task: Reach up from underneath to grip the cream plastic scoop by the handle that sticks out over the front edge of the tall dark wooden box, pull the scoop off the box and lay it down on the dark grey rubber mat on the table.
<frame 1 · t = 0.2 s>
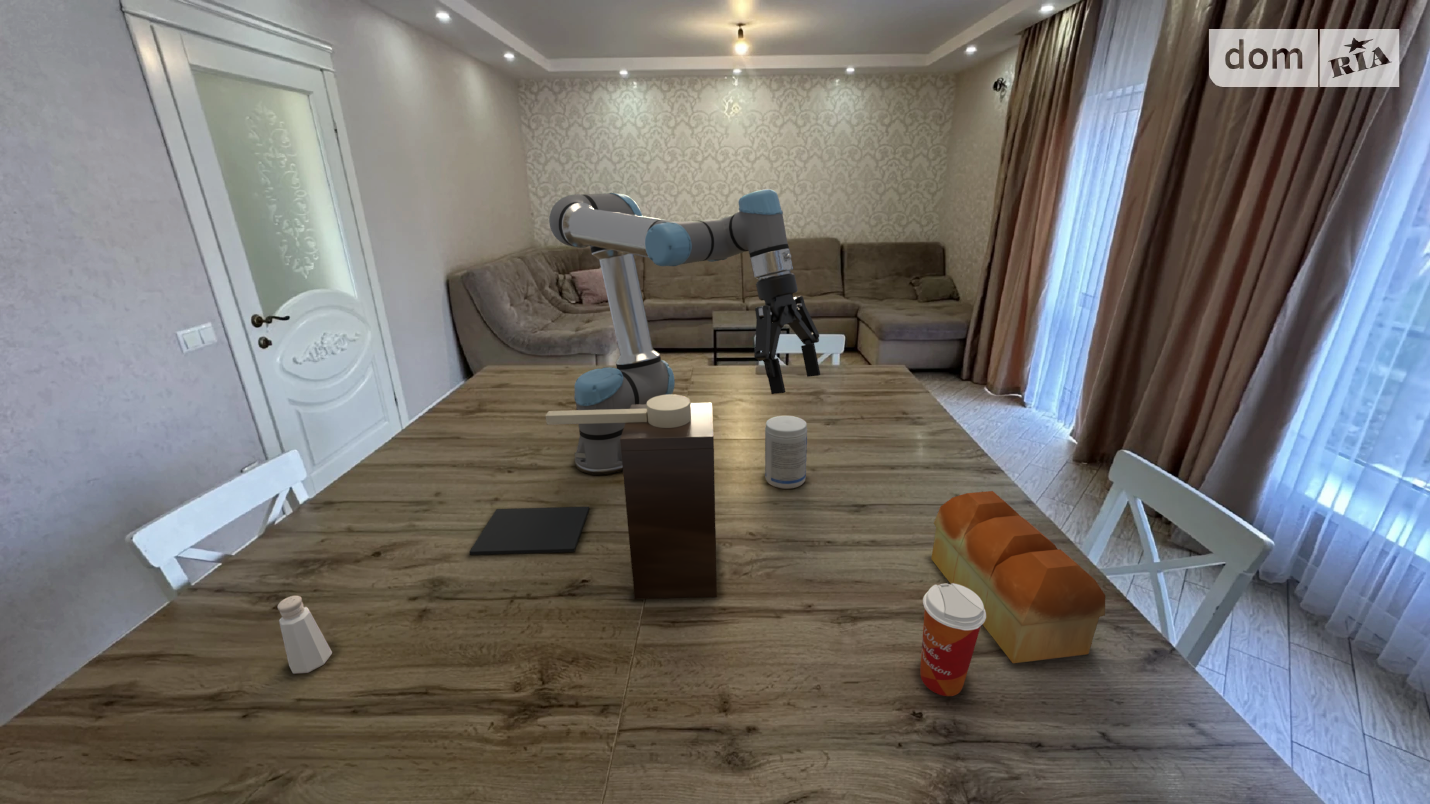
hand: (797, 384, 108), 28 cm above the table, tool tilted 15°, fingers open, 13 cm apart
scoop: (669, 419, 89), point 30 cm above the table, touching tall dark wooden box
paper cup: (941, 680, 77), on the table
pepper shaker: (311, 661, 82), on the table
milk frother: (635, 415, 168), on the table
bread: (1000, 602, 91), on the table
supplement tub: (784, 480, 130), on the table
tall dark wooden box: (677, 571, 100), on the table
mat: (533, 530, 112), on the table
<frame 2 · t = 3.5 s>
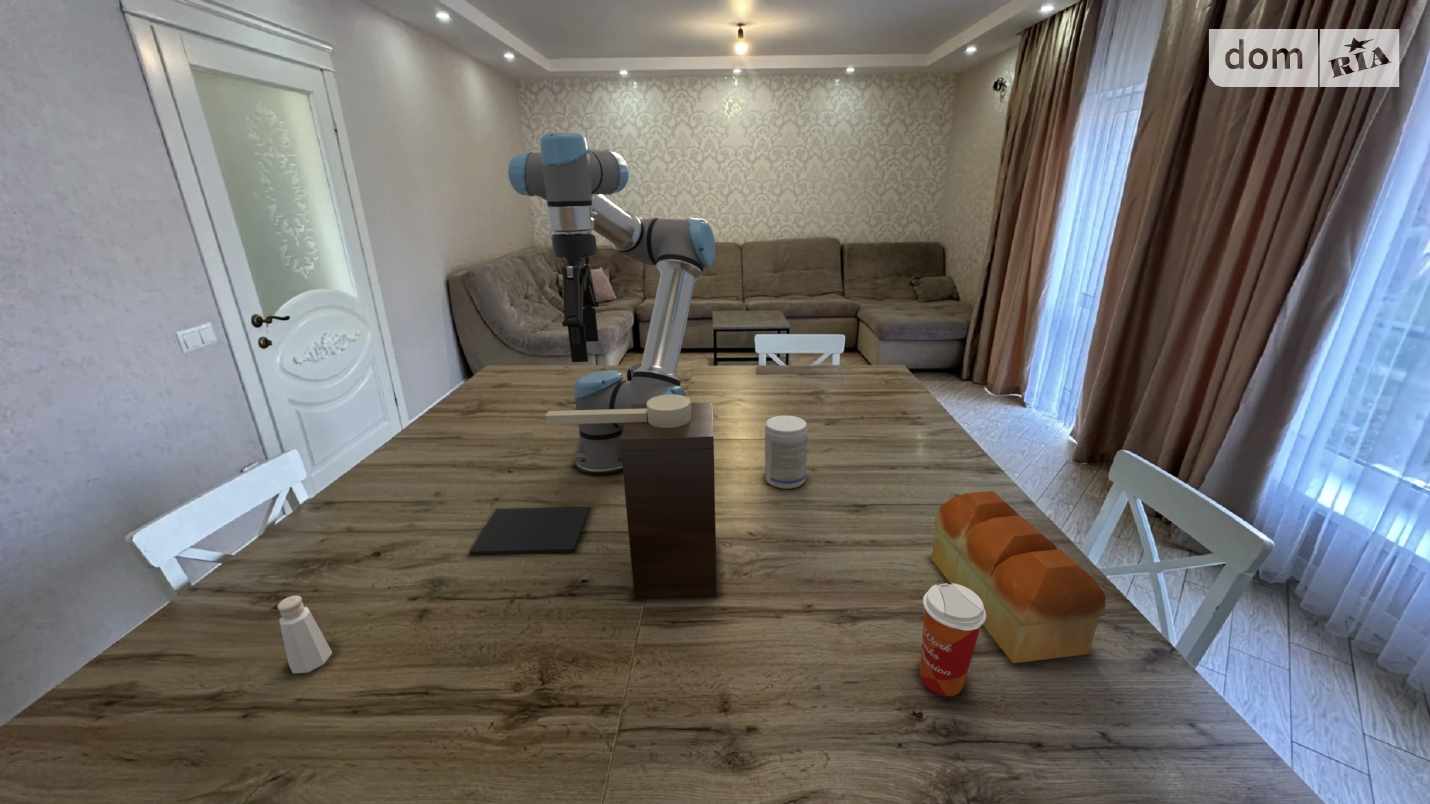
hand: (586, 350, 103), 37 cm above the table, tool pointing down, fingers open, 13 cm apart
nothing on the table moved.
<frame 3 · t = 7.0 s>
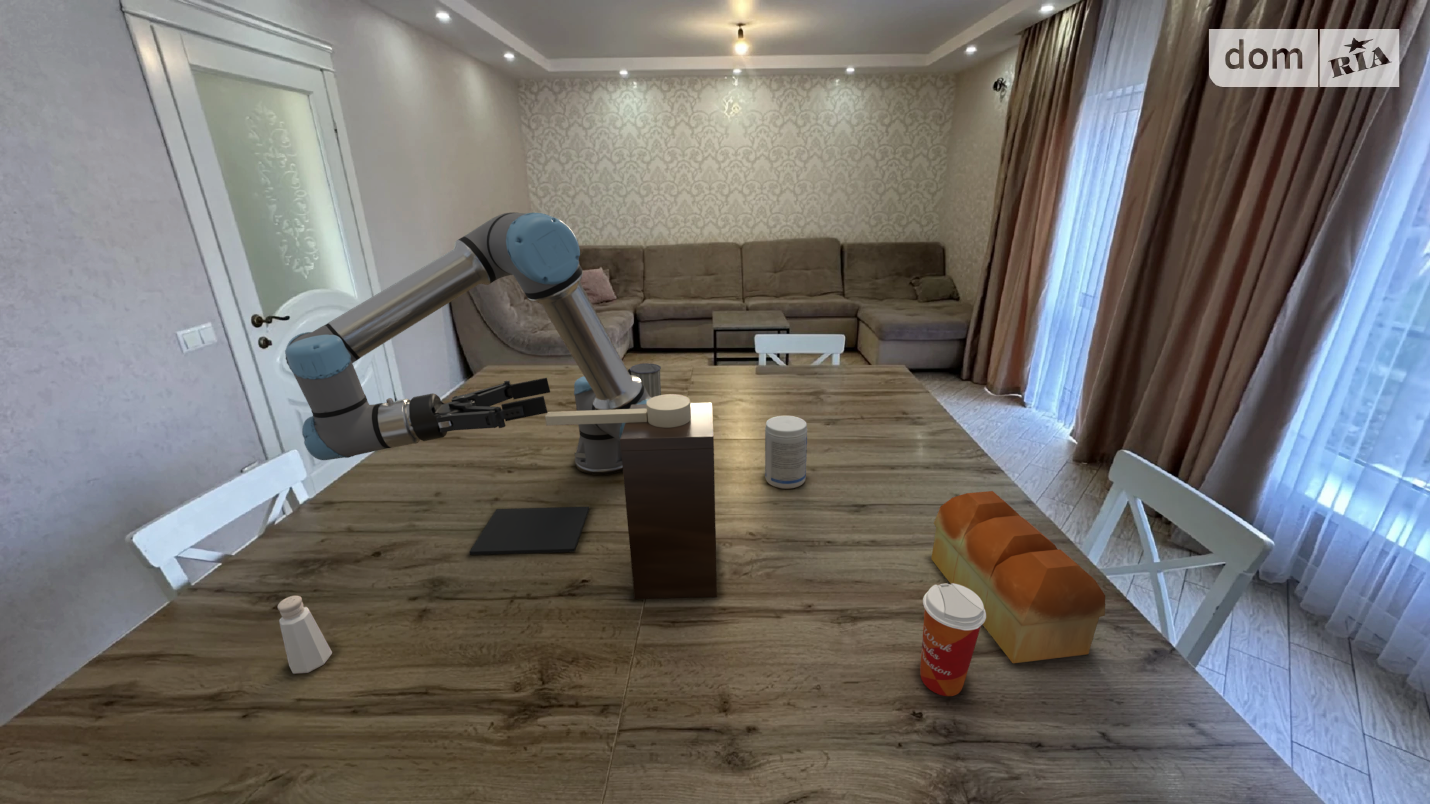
hand: (547, 394, 95), 32 cm above the table, tool horizontal, fingers open, 13 cm apart
scoop: (669, 419, 89), point 30 cm above the table, touching gripper
everything else where it was.
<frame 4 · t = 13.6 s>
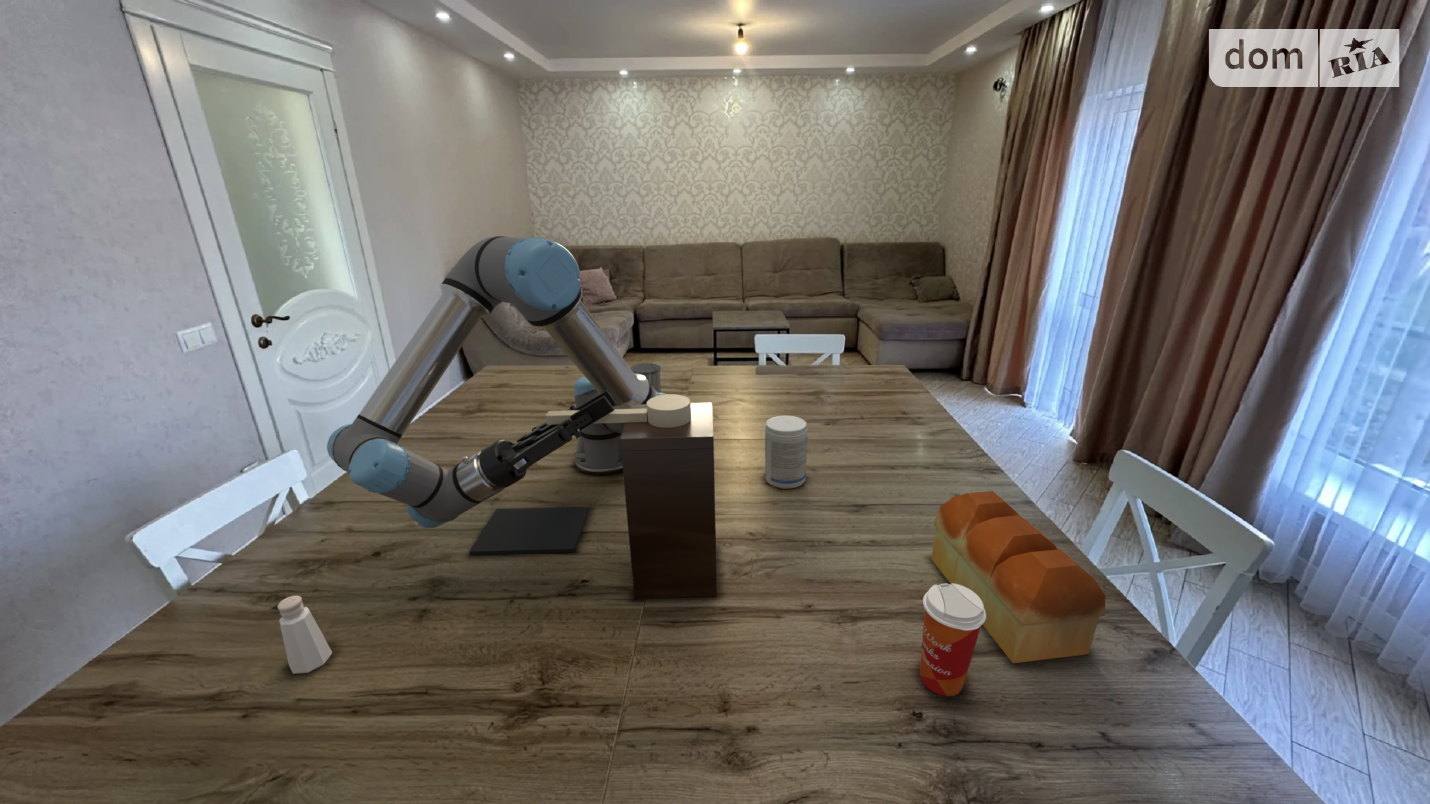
hand: (610, 400, 87), 34 cm above the table, tool pointing upward, fingers closed on scoop, 2 cm apart
scoop: (669, 419, 89), point 30 cm above the table, touching gripper, tall dark wooden box
everything else where it was.
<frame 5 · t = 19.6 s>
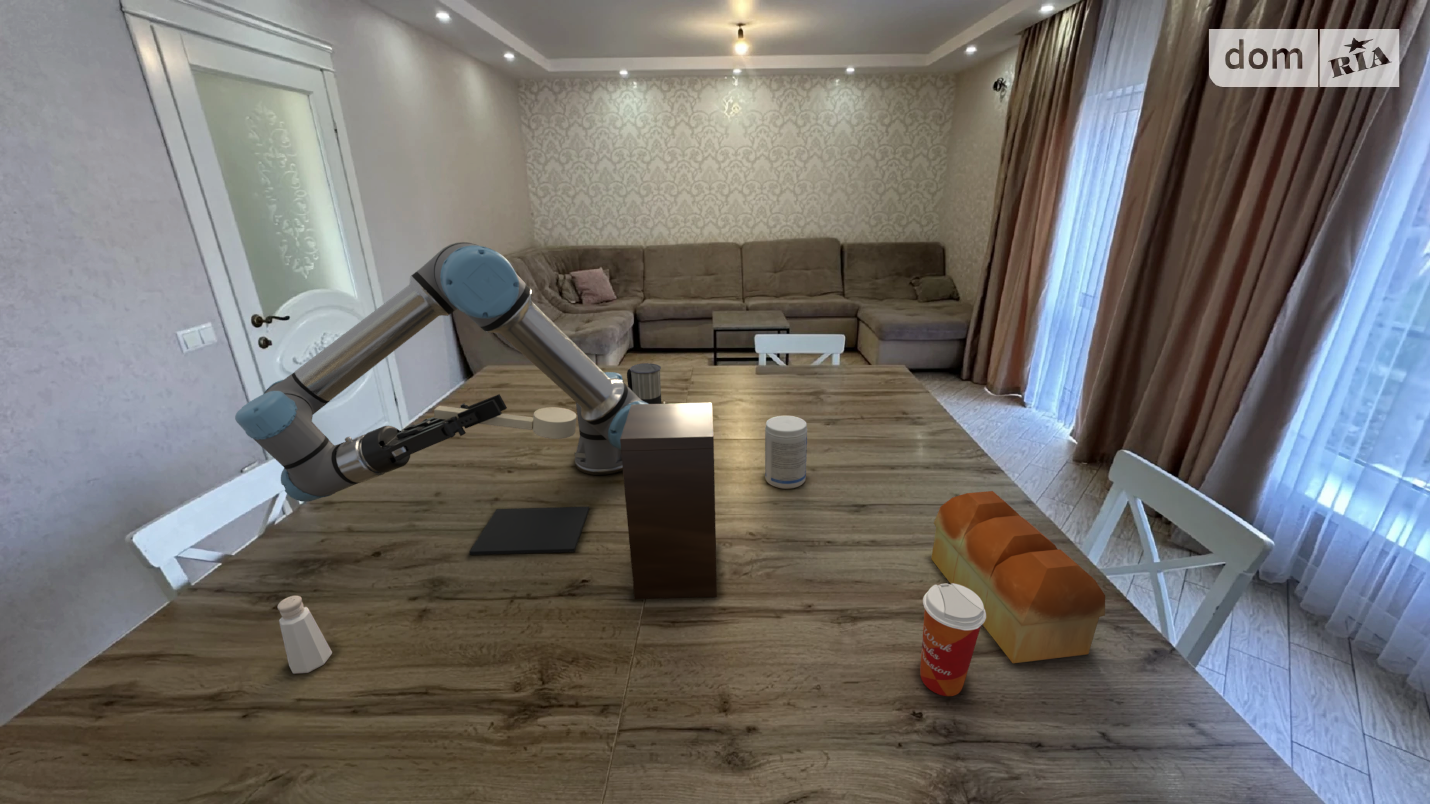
hand: (499, 404, 92), 31 cm above the table, tool pointing upward, fingers closed on scoop, 2 cm apart
scoop: (554, 430, 94), point 26 cm above the table, tilted 10°, touching gripper
everything else where it was.
when the fingers open (7 cm above the table, at t = 25.5 s): scoop drops 1 cm, resting on mat.
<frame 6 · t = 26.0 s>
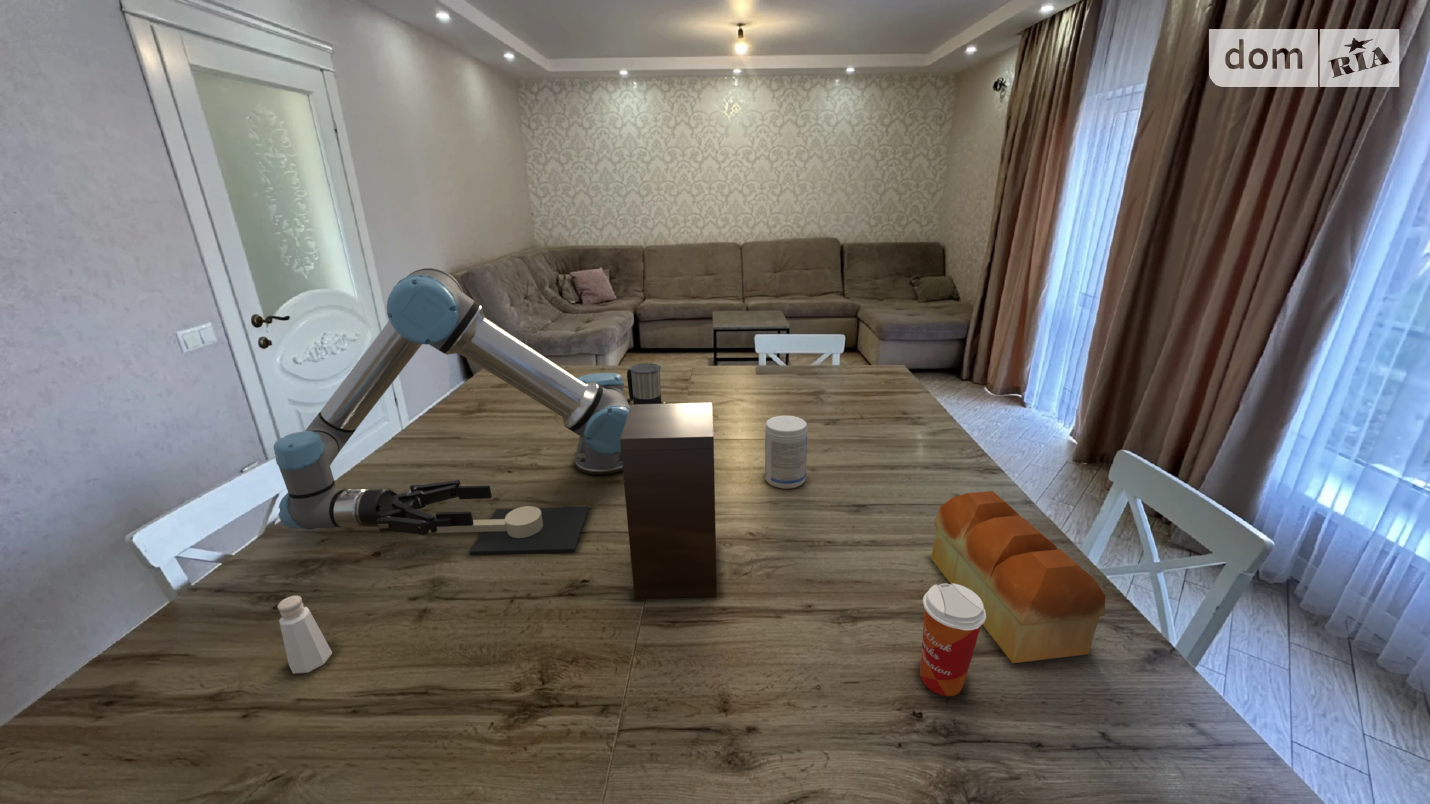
hand: (481, 504, 110), 7 cm above the table, tool horizontal, fingers open, 9 cm apart
scoop: (525, 527, 112), point 1 cm above the table, touching mat
everything else where it was.
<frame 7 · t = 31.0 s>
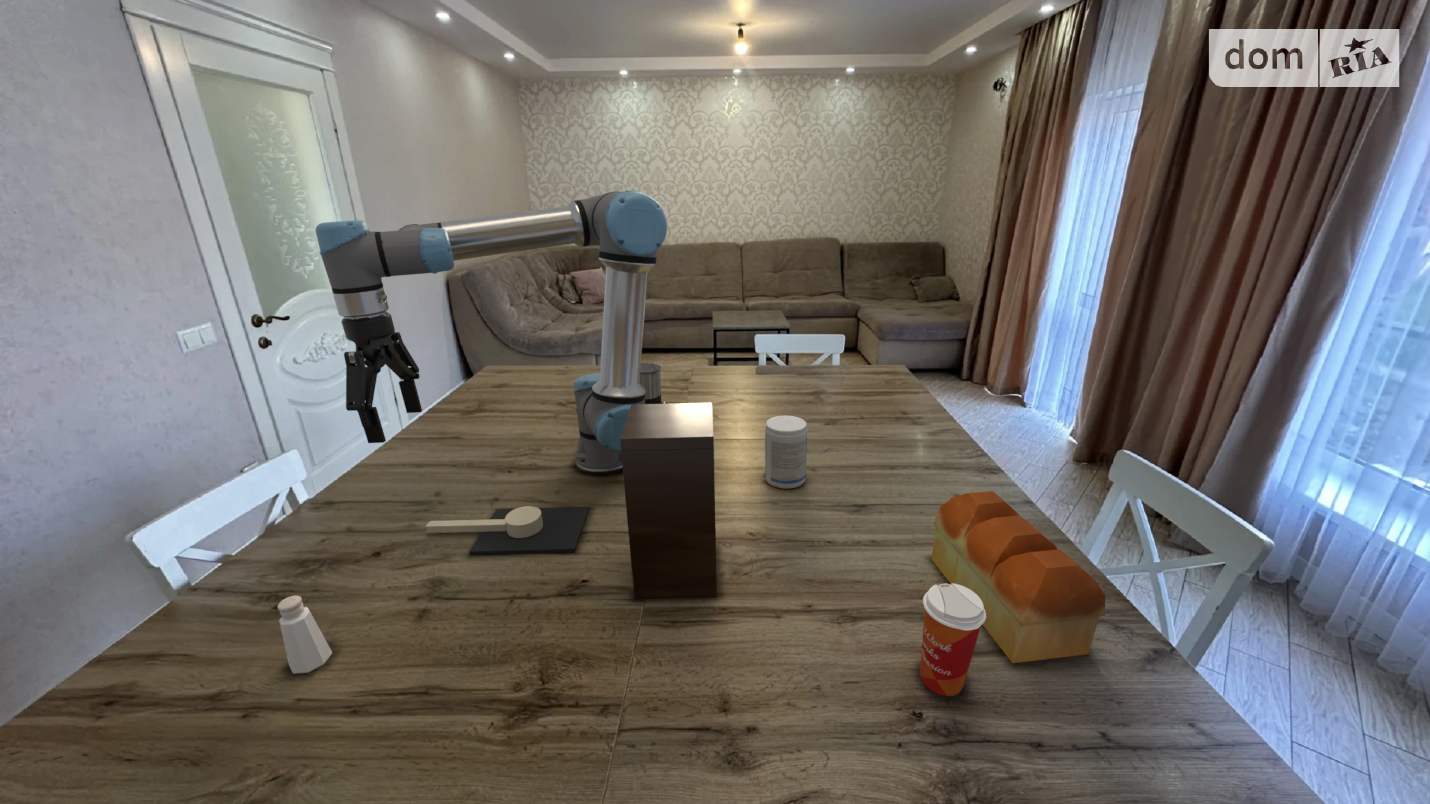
hand: (397, 426, 103), 24 cm above the table, tool pointing down, fingers open, 13 cm apart
nothing on the table moved.
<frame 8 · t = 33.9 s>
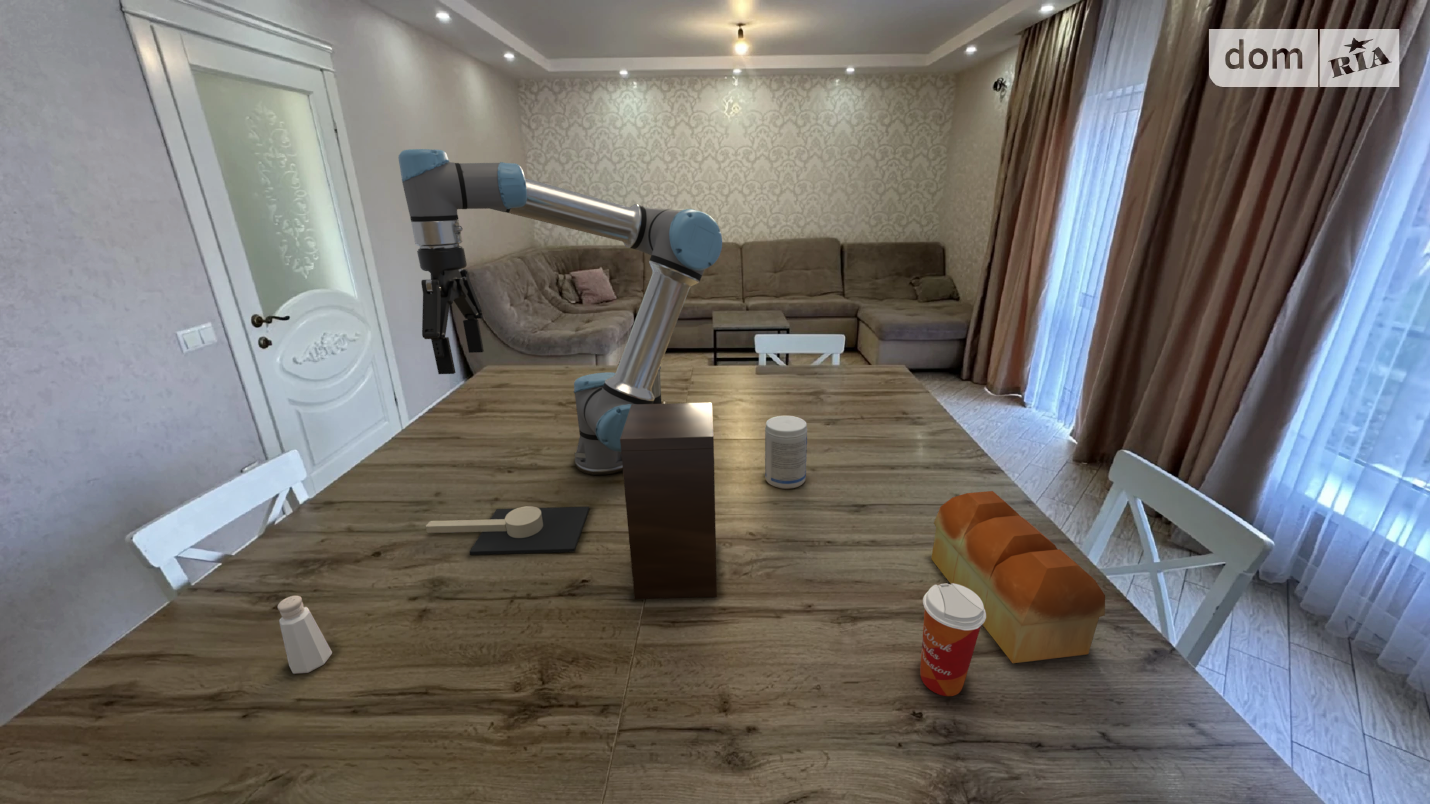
hand: (462, 362, 104), 35 cm above the table, tool pointing down, fingers open, 13 cm apart
nothing on the table moved.
at the end: scoop inside the target area on the mat (1.5 cm from its centre), point 0.8 cm above the mat's base; scoop touching mat; the gripper is holding nothing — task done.
